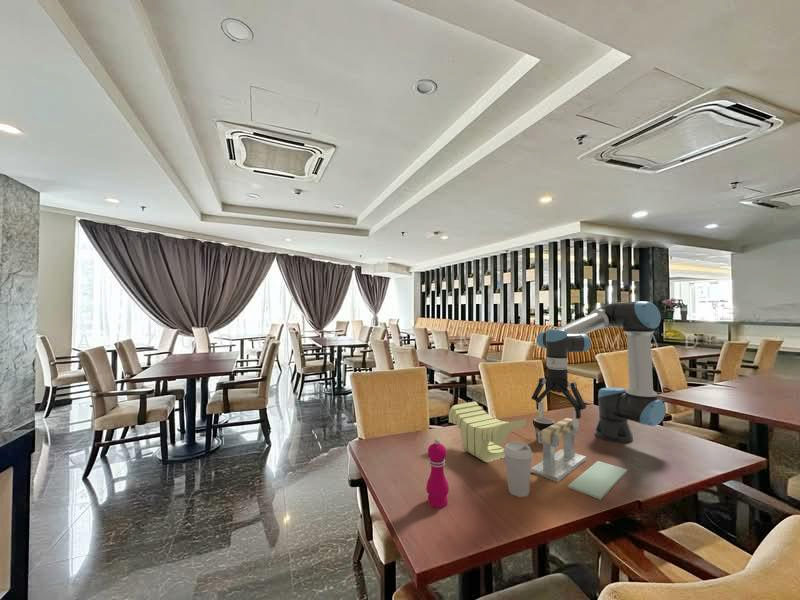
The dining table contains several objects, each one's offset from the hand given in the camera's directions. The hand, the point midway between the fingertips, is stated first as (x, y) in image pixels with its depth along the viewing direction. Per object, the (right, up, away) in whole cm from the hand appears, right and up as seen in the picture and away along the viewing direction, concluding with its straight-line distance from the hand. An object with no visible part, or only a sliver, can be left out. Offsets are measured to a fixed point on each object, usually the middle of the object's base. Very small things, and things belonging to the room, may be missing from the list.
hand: (557, 422), depth 131 cm
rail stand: (0, -17, -1) cm, 17 cm away
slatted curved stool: (-26, -18, +11) cm, 33 cm away
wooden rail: (0, -5, 0) cm, 5 cm away
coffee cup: (-22, -17, -19) cm, 33 cm away
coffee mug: (+5, -18, +25) cm, 31 cm away
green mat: (+10, -16, -11) cm, 22 cm away
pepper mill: (-50, -17, -25) cm, 58 cm away
